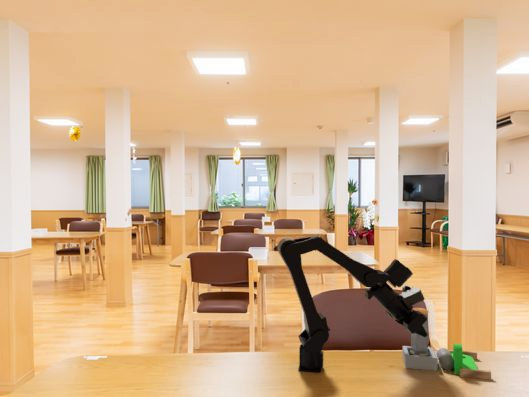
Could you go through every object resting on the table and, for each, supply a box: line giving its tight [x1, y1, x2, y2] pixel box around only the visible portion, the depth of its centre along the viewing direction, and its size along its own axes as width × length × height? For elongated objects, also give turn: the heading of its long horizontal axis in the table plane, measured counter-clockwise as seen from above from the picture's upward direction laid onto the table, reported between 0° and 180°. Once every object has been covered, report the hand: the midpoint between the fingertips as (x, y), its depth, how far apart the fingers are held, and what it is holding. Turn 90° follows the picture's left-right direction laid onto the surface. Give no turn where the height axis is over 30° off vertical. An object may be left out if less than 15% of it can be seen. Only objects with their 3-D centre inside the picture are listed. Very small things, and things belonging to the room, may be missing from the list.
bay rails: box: [448, 349, 492, 380], centre depth 133 cm, size 8×16×2 cm, turn 168°
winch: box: [401, 345, 454, 371], centre depth 136 cm, size 14×9×4 cm, turn 78°
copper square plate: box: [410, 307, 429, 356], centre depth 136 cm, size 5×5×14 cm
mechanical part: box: [451, 343, 479, 376], centre depth 133 cm, size 12×6×8 cm, turn 162°
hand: (423, 333), depth 136 cm, fingers closed on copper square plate, 4 cm apart
